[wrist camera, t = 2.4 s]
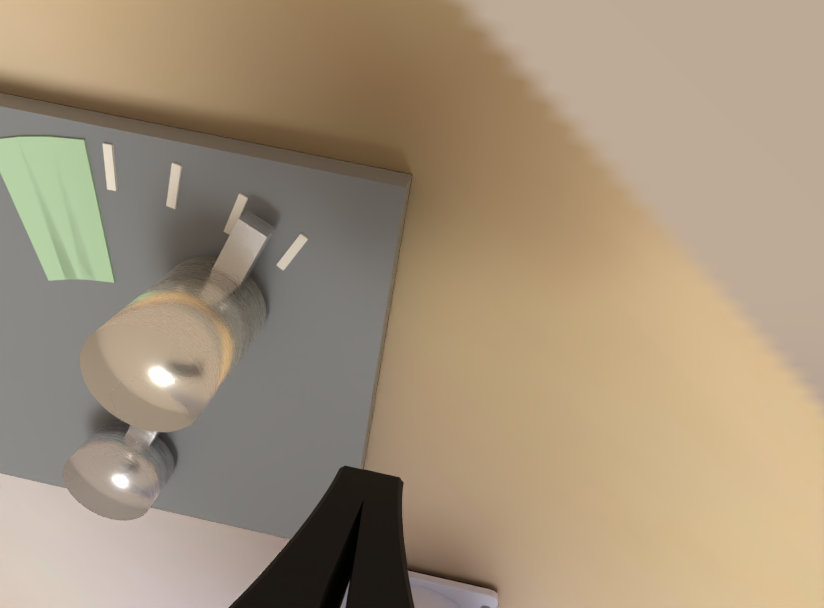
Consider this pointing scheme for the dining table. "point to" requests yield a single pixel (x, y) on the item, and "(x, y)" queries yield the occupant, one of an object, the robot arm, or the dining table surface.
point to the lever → (165, 370)
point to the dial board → (155, 257)
